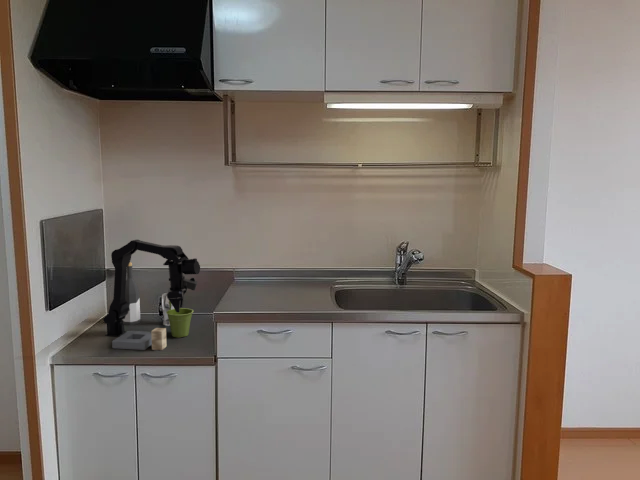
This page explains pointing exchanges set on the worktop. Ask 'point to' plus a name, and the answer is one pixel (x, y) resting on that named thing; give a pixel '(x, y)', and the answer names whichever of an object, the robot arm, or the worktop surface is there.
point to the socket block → (133, 340)
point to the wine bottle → (132, 299)
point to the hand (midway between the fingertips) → (179, 309)
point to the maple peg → (158, 338)
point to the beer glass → (166, 308)
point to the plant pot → (180, 321)
